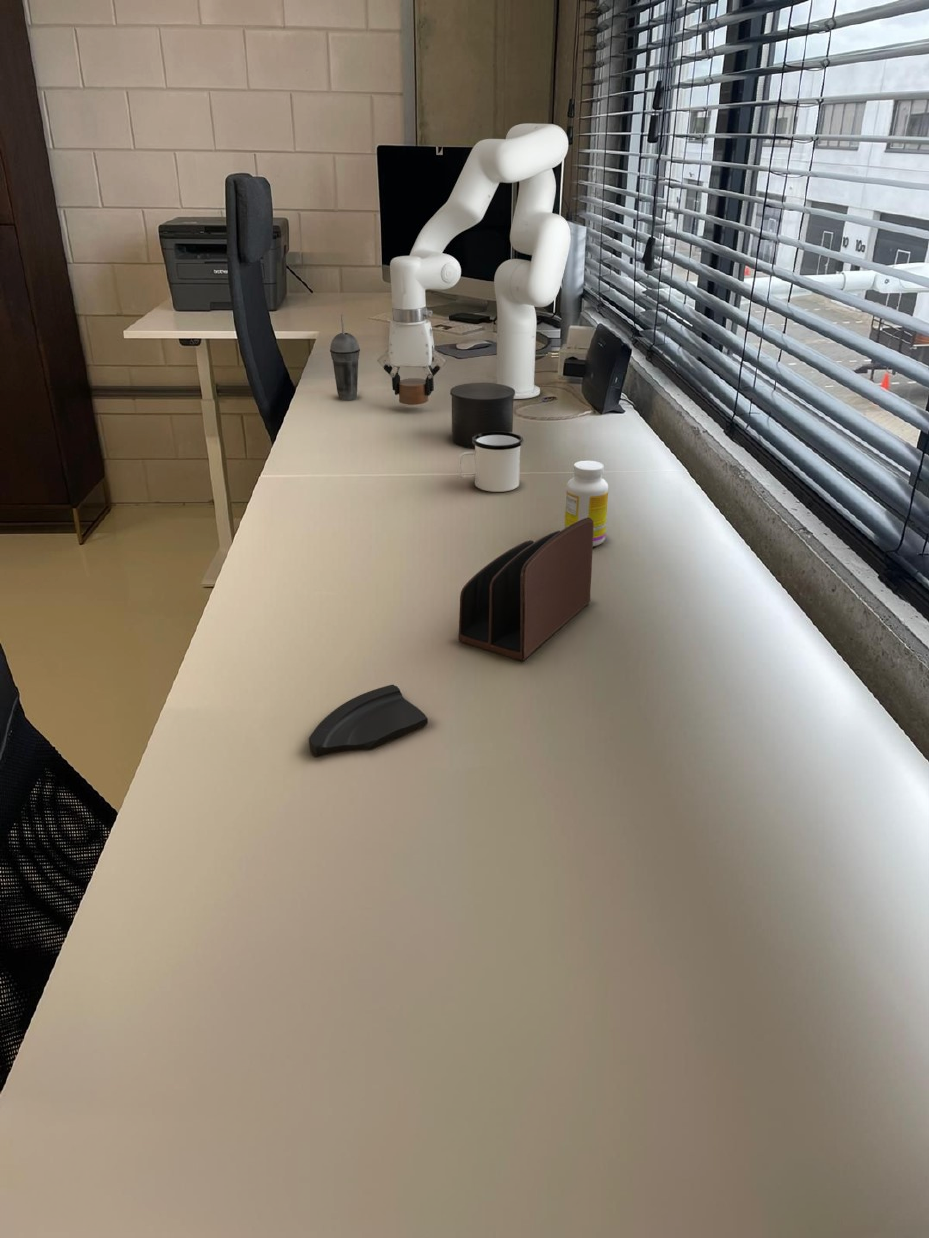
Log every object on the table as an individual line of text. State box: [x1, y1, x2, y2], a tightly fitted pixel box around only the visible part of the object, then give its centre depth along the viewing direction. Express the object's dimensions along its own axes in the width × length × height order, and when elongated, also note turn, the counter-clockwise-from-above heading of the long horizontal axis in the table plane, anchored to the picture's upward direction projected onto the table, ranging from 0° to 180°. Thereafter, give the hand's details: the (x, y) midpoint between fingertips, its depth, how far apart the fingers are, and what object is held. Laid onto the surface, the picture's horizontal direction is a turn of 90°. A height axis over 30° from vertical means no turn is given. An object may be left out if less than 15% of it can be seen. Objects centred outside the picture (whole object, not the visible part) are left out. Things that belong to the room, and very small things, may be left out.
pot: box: [449, 382, 515, 450], centre depth 200 cm, size 14×14×11 cm
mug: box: [458, 431, 524, 493], centre depth 176 cm, size 12×9×9 cm
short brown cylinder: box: [398, 377, 429, 406], centre depth 221 cm, size 7×7×4 cm
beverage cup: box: [329, 314, 361, 401], centre depth 228 cm, size 7×7×20 cm
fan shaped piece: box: [308, 684, 429, 758], centre depth 106 cm, size 8×14×2 cm, turn 126°
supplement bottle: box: [564, 460, 609, 547], centre depth 152 cm, size 7×7×13 cm
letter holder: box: [458, 517, 594, 662], centre depth 126 cm, size 10×20×14 cm, turn 148°
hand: (413, 393), depth 221 cm, fingers closed on short brown cylinder, 6 cm apart
